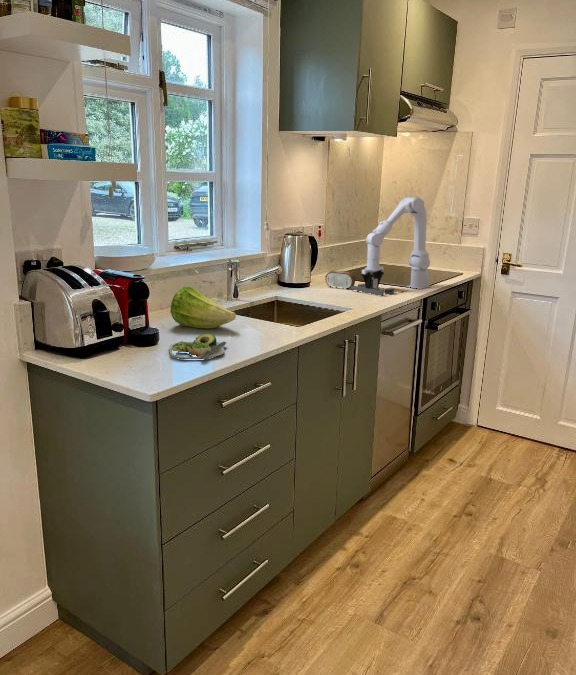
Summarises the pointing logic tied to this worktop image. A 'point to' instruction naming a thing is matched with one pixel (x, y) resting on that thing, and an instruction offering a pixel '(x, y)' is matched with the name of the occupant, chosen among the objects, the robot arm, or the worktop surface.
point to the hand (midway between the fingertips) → (372, 287)
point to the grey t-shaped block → (375, 284)
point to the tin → (340, 279)
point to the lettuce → (198, 310)
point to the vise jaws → (372, 290)
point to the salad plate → (199, 347)
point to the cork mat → (398, 290)
